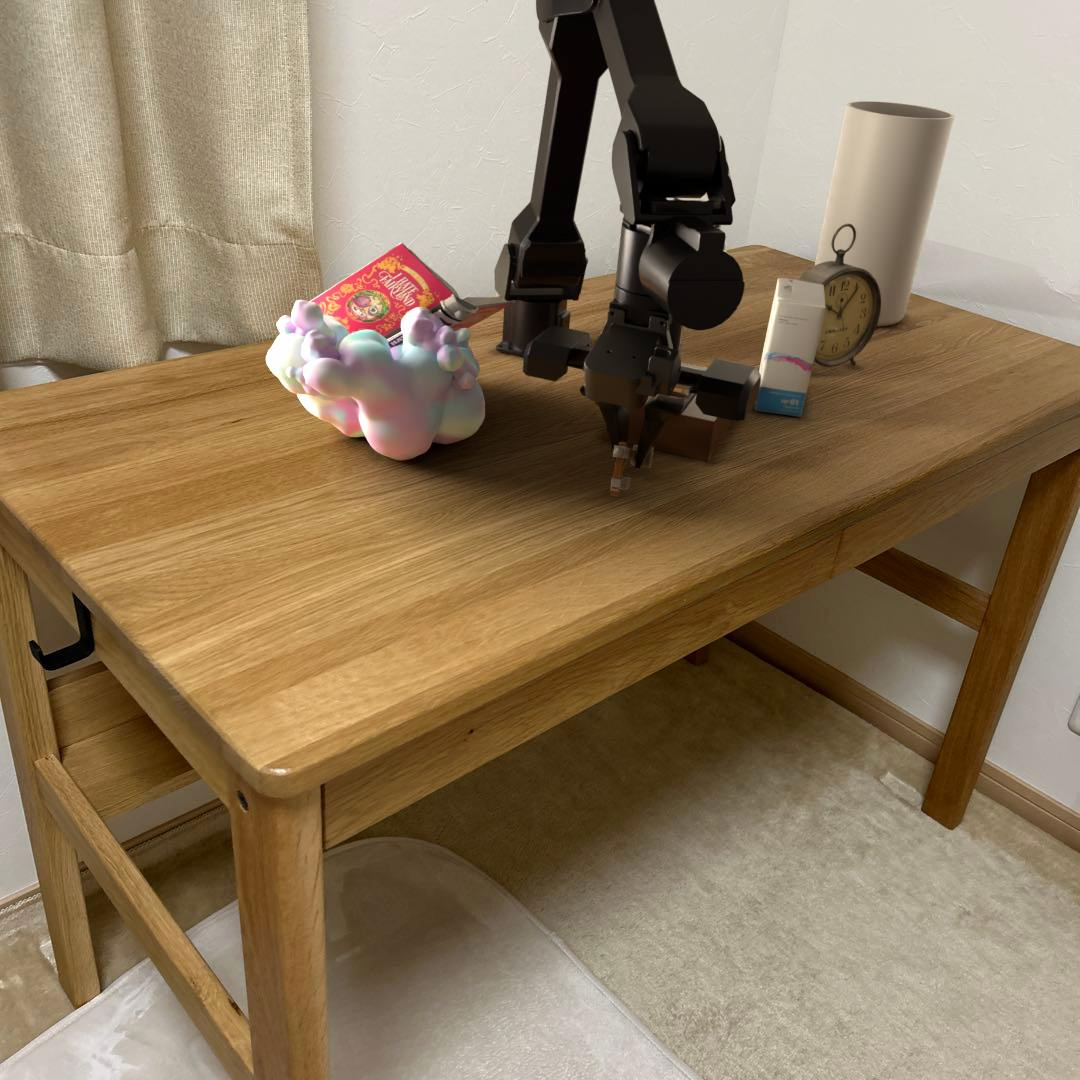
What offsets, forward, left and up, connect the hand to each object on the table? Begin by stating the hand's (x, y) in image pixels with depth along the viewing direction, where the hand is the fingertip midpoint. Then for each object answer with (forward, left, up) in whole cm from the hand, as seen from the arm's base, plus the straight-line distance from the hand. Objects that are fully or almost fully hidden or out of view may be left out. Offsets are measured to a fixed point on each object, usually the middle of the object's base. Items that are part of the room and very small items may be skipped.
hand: (629, 465), depth 92 cm
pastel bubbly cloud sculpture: (-24, +1, -2) cm, 24 cm away
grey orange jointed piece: (0, 0, -2) cm, 2 cm away
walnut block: (0, +15, -2) cm, 15 cm away
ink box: (+8, +27, -2) cm, 28 cm away
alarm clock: (+10, +39, -2) cm, 40 cm away
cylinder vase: (+11, +63, -2) cm, 64 cm away
